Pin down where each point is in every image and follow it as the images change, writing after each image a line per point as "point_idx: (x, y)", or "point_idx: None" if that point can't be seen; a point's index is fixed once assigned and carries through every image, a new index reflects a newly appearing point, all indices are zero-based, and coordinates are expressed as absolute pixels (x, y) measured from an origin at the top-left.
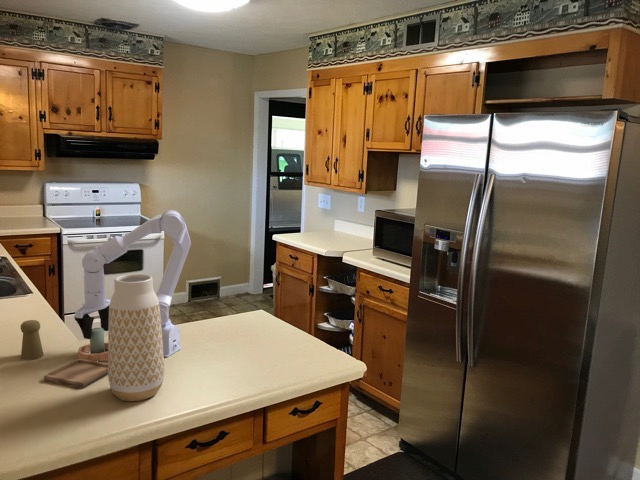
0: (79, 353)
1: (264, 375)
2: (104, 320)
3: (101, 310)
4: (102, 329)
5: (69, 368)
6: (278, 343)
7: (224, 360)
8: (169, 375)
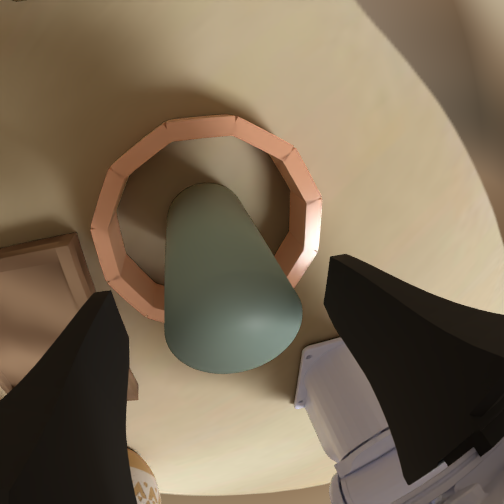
0: (99, 199)
1: (274, 481)
2: (381, 343)
3: (462, 404)
4: (270, 352)
5: (6, 277)
6: None
7: (313, 448)
8: (201, 452)
